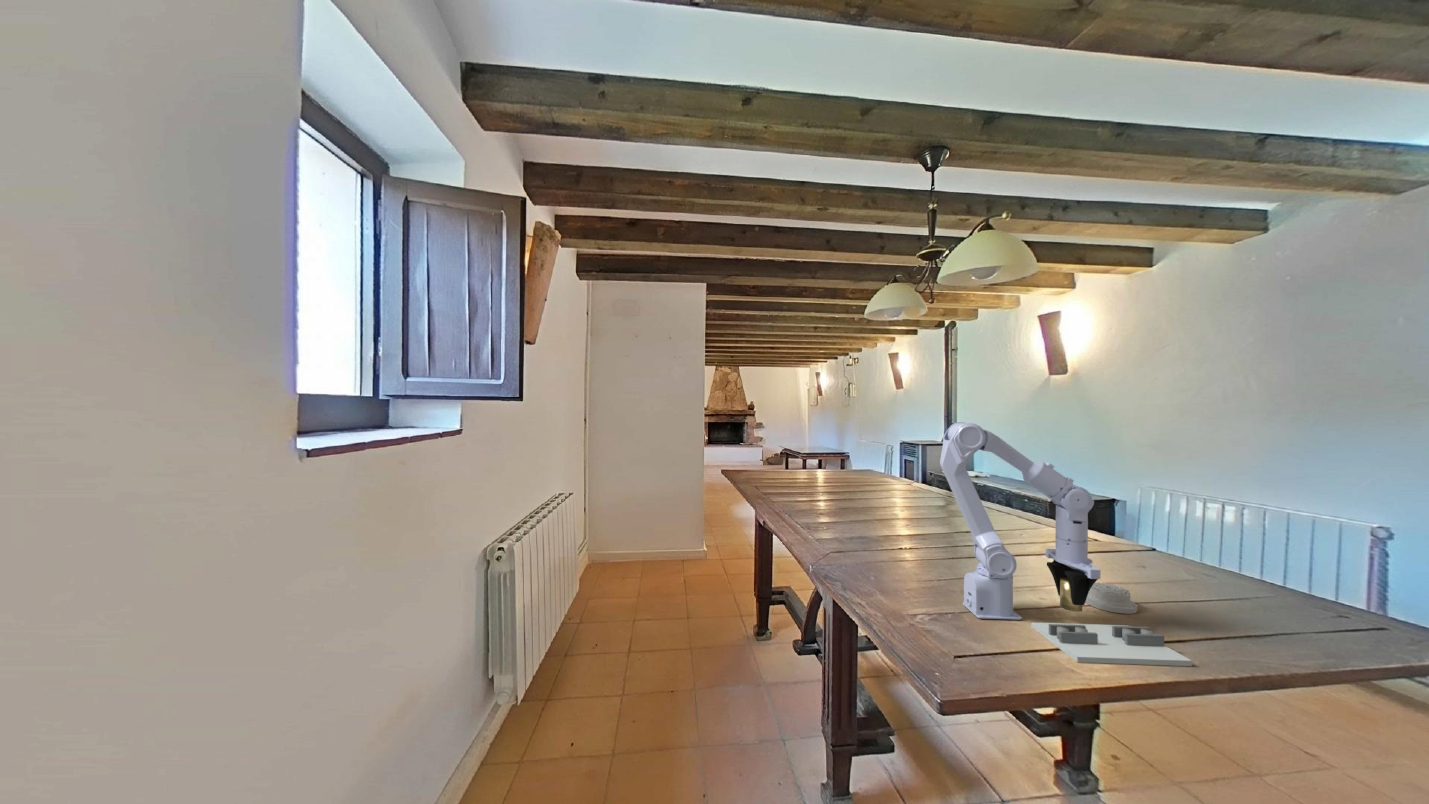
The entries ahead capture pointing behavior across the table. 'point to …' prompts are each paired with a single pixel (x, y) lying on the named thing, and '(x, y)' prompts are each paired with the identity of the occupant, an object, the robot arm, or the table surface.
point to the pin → (1067, 597)
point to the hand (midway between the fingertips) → (1071, 600)
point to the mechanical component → (1111, 598)
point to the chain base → (1110, 644)
